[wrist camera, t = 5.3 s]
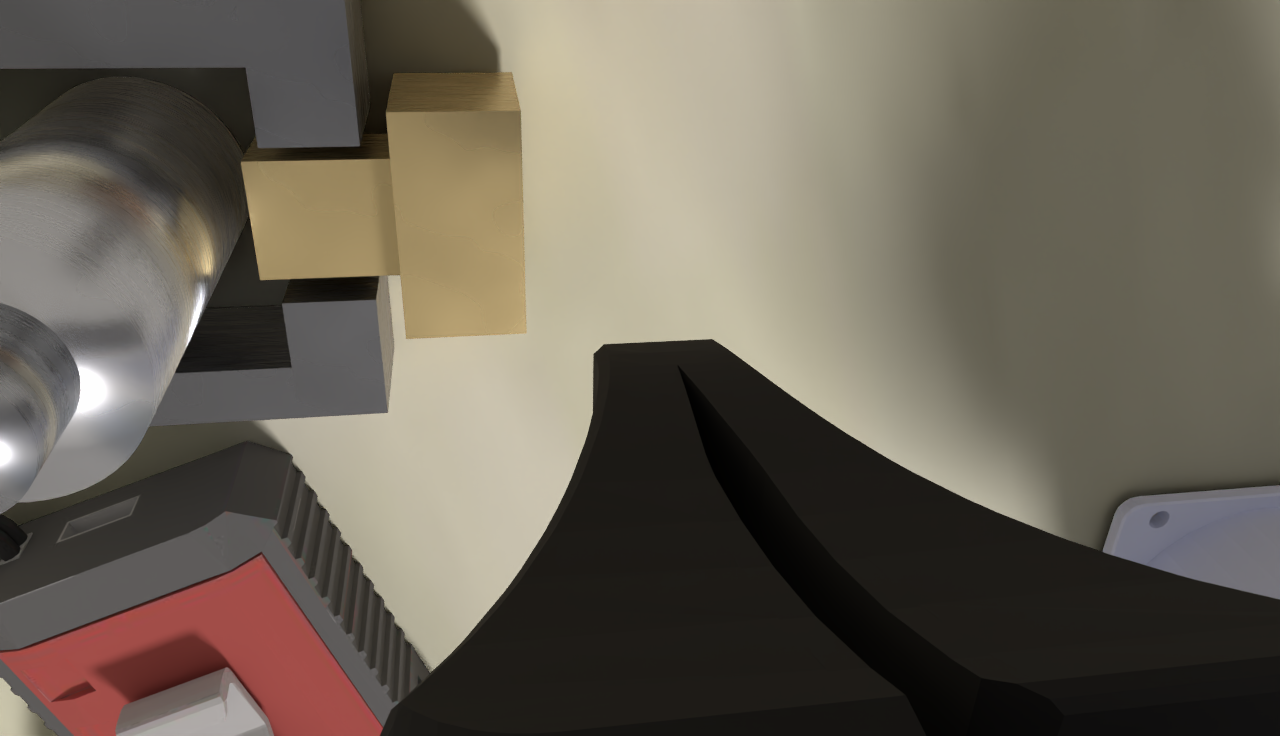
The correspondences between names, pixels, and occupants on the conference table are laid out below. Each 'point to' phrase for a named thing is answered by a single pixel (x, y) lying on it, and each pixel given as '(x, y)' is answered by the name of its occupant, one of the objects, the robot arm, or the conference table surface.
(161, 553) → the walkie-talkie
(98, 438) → the silver knobbed cylinder
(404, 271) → the key
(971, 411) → the conference table surface
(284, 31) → the block
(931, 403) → the conference table surface
